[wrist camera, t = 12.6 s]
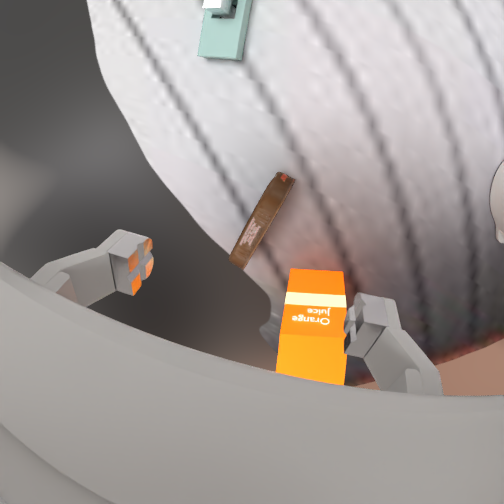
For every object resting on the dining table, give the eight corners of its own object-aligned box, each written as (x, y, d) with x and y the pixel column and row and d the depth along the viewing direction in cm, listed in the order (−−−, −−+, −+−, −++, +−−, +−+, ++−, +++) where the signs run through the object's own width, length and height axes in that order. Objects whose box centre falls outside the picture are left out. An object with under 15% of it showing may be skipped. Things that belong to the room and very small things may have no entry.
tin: (252, 250, 46) (240, 283, 39) (235, 241, 46) (220, 272, 39) (299, 172, 38) (295, 193, 31) (278, 161, 38) (270, 180, 31)
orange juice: (337, 305, 49) (338, 405, 32) (289, 302, 51) (272, 400, 34) (343, 270, 45) (350, 374, 28) (290, 267, 47) (272, 369, 30)
